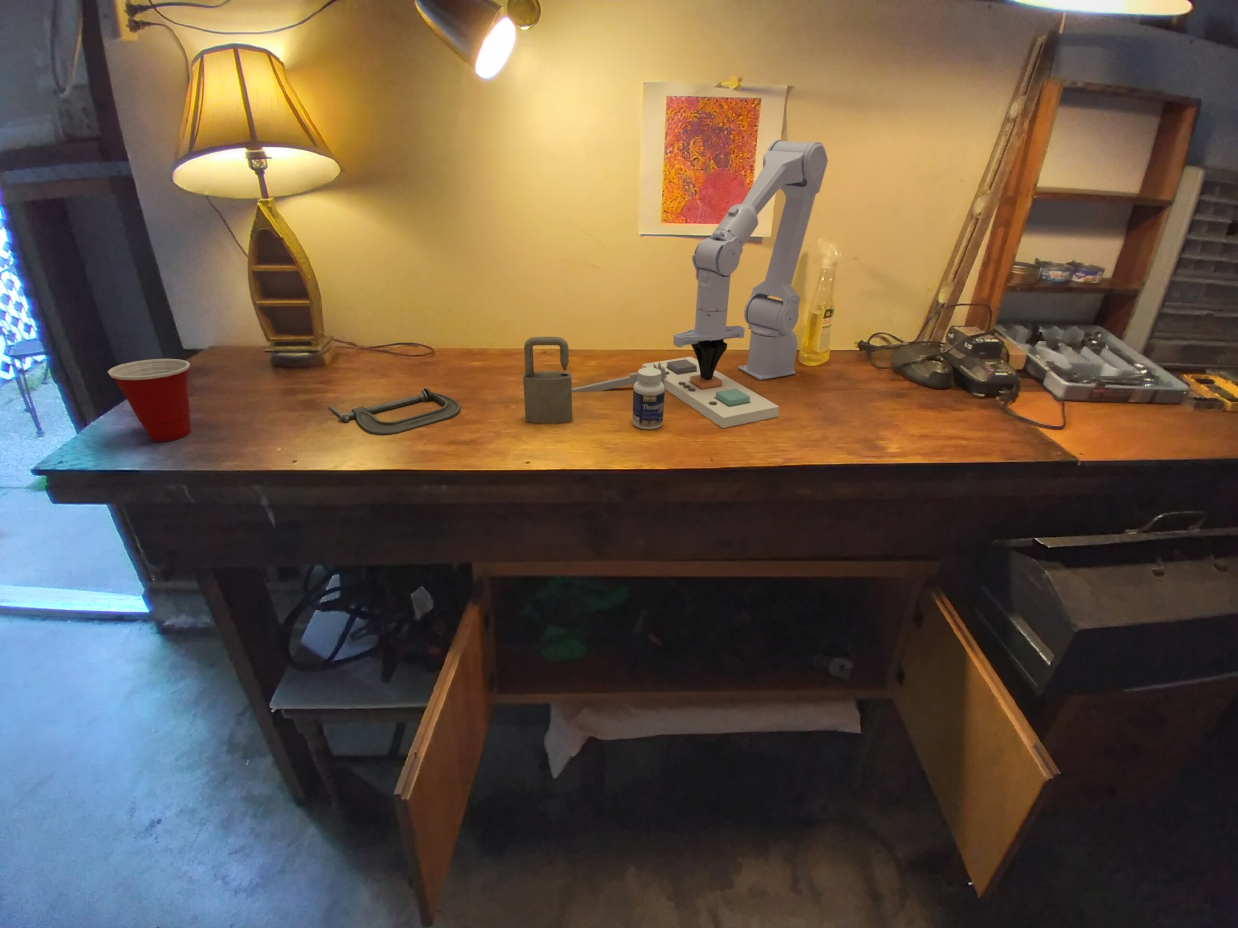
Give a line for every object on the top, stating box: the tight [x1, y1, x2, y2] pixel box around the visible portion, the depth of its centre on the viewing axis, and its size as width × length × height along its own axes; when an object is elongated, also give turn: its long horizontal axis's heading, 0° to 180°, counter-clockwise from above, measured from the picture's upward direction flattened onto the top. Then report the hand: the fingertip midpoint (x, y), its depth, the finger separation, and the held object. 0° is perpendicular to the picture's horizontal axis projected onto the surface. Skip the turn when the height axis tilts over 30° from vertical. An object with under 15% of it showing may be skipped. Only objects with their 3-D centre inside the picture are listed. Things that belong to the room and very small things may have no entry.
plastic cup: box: [107, 358, 192, 443], centre depth 106 cm, size 11×11×12 cm
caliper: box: [572, 361, 667, 393], centre depth 129 cm, size 20×1×6 cm, turn 99°
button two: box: [667, 359, 697, 375], centre depth 135 cm, size 4×4×3 cm
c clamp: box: [327, 387, 462, 436], centre depth 118 cm, size 20×17×3 cm
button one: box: [716, 389, 750, 407], centre depth 121 cm, size 4×4×3 cm
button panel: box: [641, 356, 780, 429], centre depth 128 cm, size 12×30×2 cm, turn 26°
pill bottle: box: [632, 367, 666, 430], centre depth 113 cm, size 5×5×10 cm
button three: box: [690, 375, 722, 390], centre depth 128 cm, size 4×4×3 cm
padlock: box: [522, 336, 573, 424], centre depth 113 cm, size 4×8×15 cm, turn 93°
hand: (706, 377), depth 127 cm, fingers closed
